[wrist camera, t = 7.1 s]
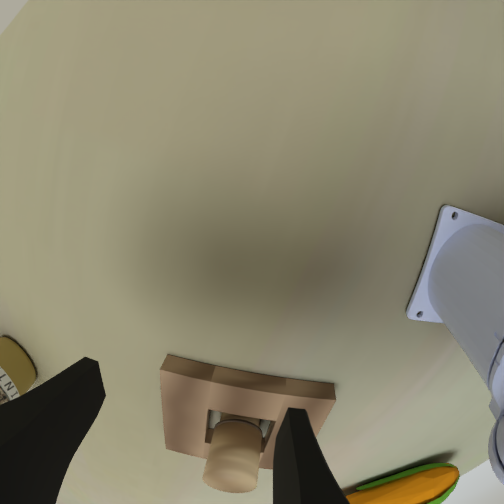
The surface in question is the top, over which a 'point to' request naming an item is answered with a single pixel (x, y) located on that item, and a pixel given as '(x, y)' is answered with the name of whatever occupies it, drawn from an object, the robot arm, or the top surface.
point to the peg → (234, 454)
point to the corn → (410, 486)
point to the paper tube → (14, 371)
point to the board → (232, 403)
